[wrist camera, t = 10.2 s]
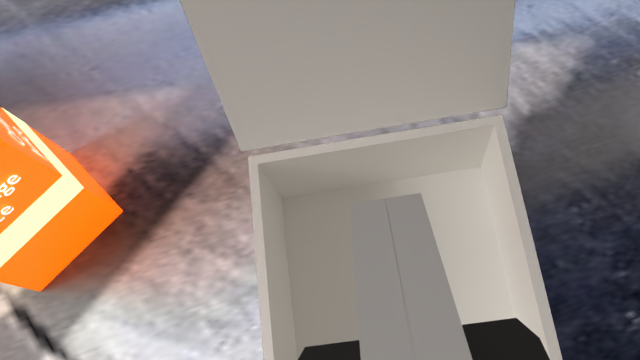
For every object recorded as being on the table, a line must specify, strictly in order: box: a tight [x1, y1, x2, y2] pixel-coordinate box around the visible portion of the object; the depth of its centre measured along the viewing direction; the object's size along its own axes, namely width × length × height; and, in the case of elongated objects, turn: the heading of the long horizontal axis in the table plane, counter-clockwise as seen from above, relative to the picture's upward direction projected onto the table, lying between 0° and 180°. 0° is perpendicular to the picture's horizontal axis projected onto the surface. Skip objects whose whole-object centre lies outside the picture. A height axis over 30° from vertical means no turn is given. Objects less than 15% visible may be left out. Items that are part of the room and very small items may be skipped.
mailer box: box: [248, 115, 562, 360], centre depth 37 cm, size 20×16×8 cm
